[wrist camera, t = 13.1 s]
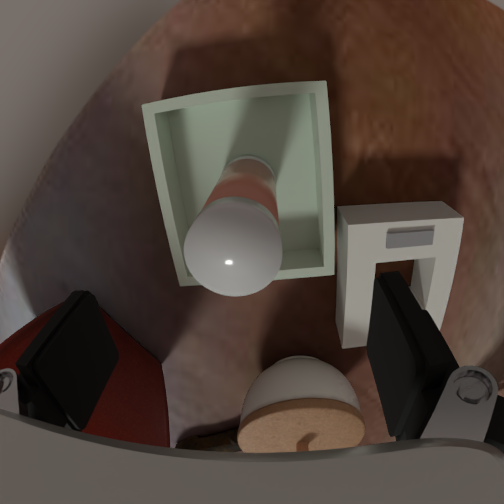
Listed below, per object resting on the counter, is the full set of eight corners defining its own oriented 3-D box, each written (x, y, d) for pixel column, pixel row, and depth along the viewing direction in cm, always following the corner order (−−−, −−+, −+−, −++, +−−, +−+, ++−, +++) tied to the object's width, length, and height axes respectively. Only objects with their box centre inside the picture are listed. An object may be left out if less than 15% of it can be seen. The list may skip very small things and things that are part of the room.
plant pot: (17, 324, 35) (-44, 409, 20) (76, 251, 29) (-25, 367, 14) (114, 408, 41) (81, 500, 26) (202, 369, 35) (175, 502, 20)
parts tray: (316, 83, 21) (326, 80, 18) (326, 250, 27) (334, 274, 24) (160, 102, 22) (141, 104, 19) (190, 261, 28) (179, 286, 25)
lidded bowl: (296, 317, 31) (305, 409, 21) (372, 368, 34) (393, 446, 24) (221, 379, 36) (209, 459, 26) (297, 416, 39) (300, 488, 29)
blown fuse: (272, 151, 23) (278, 203, 12) (278, 203, 25) (285, 292, 14) (217, 157, 23) (174, 214, 13) (225, 208, 25) (194, 298, 14)
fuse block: (441, 200, 25) (465, 219, 21) (424, 309, 30) (439, 335, 26) (337, 206, 26) (349, 226, 22) (335, 321, 31) (342, 350, 27)
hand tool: (271, 410, 39) (271, 438, 35) (284, 423, 40) (285, 450, 36) (166, 434, 44) (160, 457, 40) (181, 445, 45) (176, 468, 41)
